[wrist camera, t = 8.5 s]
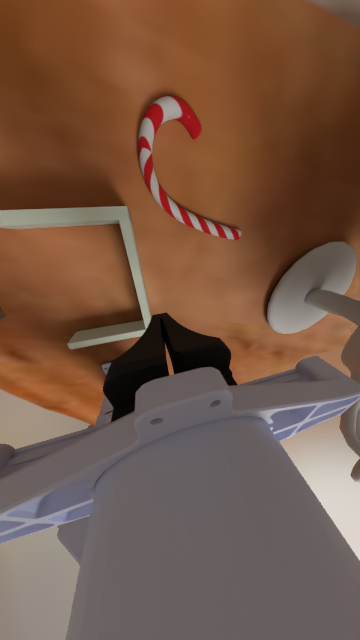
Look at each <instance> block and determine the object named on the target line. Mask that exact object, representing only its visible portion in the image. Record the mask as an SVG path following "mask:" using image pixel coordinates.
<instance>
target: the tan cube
mask: <svg viewBox="0 0 360 640" xmlns="http://www.w3.org/2000/svg"><path fill="white" fill-rule="evenodd" d="M4 317H6V314H5V313H4V312H3V311H2V310H1V309H0V319H2V318H4Z"/></svg>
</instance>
